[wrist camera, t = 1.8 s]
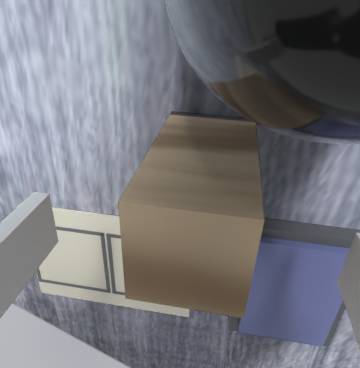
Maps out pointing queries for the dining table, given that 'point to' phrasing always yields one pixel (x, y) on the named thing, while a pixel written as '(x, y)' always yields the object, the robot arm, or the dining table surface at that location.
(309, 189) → the dining table surface
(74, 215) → the tag card
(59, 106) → the dining table surface
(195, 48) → the pump dispenser
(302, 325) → the ink pad
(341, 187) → the dining table surface
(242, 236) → the tall wooden block
